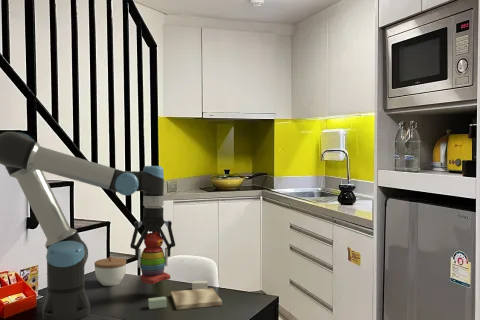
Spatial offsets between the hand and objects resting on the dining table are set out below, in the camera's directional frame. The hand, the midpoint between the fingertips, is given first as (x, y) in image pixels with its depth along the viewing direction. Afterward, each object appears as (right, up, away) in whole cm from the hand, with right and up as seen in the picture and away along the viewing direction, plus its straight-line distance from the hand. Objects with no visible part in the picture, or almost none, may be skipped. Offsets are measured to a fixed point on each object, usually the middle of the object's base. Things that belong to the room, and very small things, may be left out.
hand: (152, 265), depth 172 cm
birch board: (+17, -11, -7) cm, 21 cm away
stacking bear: (0, -5, 0) cm, 5 cm away
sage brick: (+4, -11, -13) cm, 18 cm away
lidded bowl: (-20, -11, +15) cm, 28 cm away
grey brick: (+17, -11, +7) cm, 22 cm away
